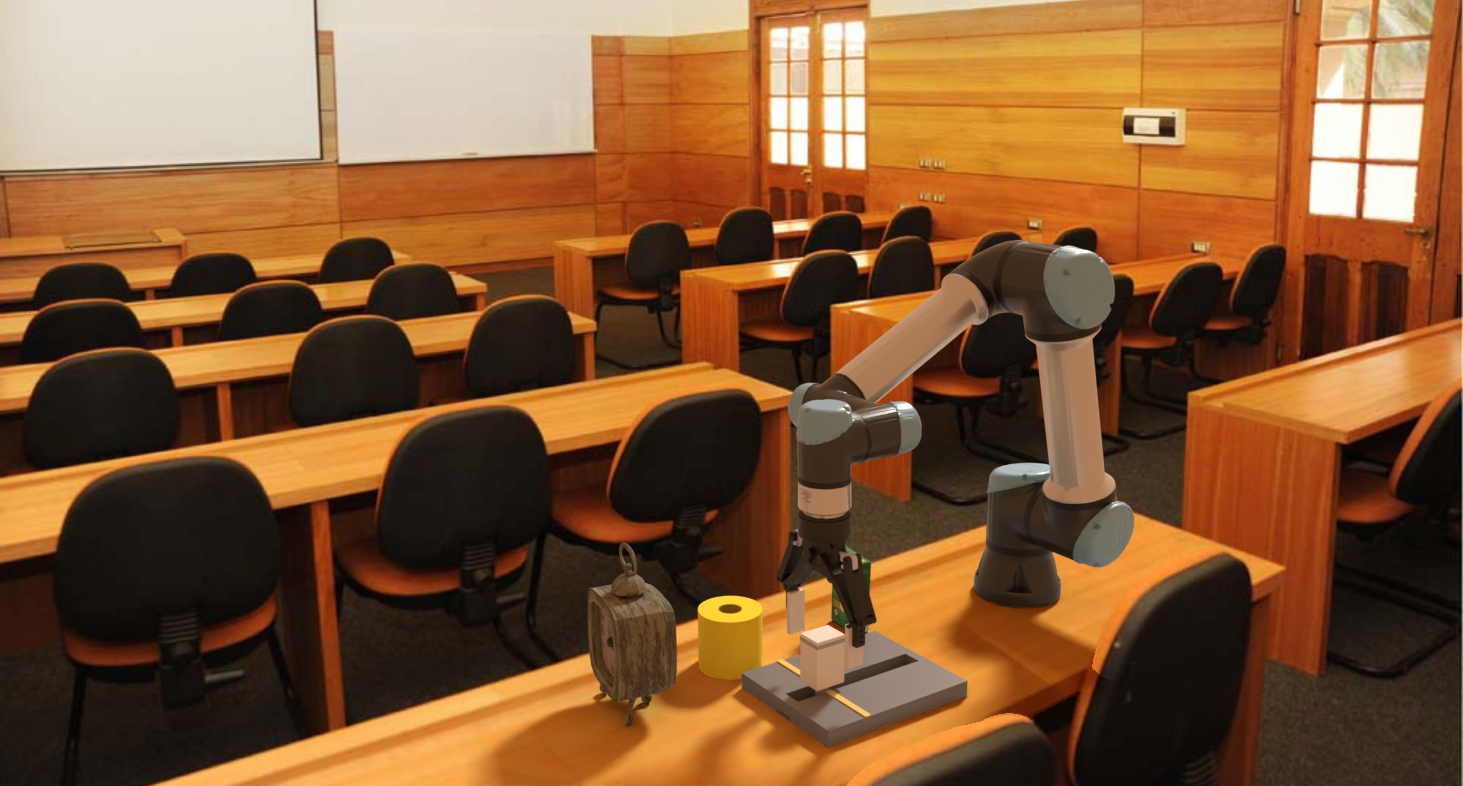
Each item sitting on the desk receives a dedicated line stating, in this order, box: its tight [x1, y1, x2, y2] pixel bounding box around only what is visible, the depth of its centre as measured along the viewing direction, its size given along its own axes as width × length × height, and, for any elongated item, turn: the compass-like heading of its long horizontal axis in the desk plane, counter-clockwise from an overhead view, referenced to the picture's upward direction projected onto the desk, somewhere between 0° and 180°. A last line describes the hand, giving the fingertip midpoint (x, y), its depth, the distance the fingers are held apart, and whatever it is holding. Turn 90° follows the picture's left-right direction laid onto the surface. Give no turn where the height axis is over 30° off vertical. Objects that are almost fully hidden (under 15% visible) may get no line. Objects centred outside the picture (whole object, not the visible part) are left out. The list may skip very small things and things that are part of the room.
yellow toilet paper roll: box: [697, 595, 764, 681], centre depth 197 cm, size 10×10×9 cm
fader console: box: [741, 630, 969, 749], centre depth 188 cm, size 26×21×3 cm
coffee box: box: [830, 545, 872, 634], centre depth 209 cm, size 8×3×13 cm, turn 27°
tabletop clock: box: [586, 542, 678, 727], centre depth 182 cm, size 14×9×25 cm, turn 23°
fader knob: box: [799, 624, 845, 696], centre depth 184 cm, size 5×4×10 cm
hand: (824, 648), depth 184 cm, fingers open, 13 cm apart
